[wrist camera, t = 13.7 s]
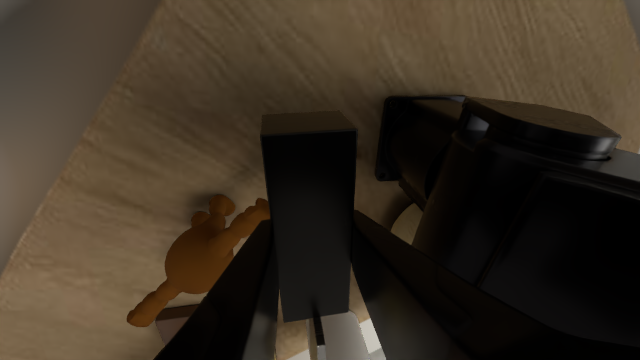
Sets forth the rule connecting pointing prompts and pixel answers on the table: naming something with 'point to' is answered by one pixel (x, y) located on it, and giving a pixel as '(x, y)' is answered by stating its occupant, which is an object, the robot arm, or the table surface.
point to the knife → (311, 212)
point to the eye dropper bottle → (342, 337)
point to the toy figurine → (200, 255)
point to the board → (173, 321)
